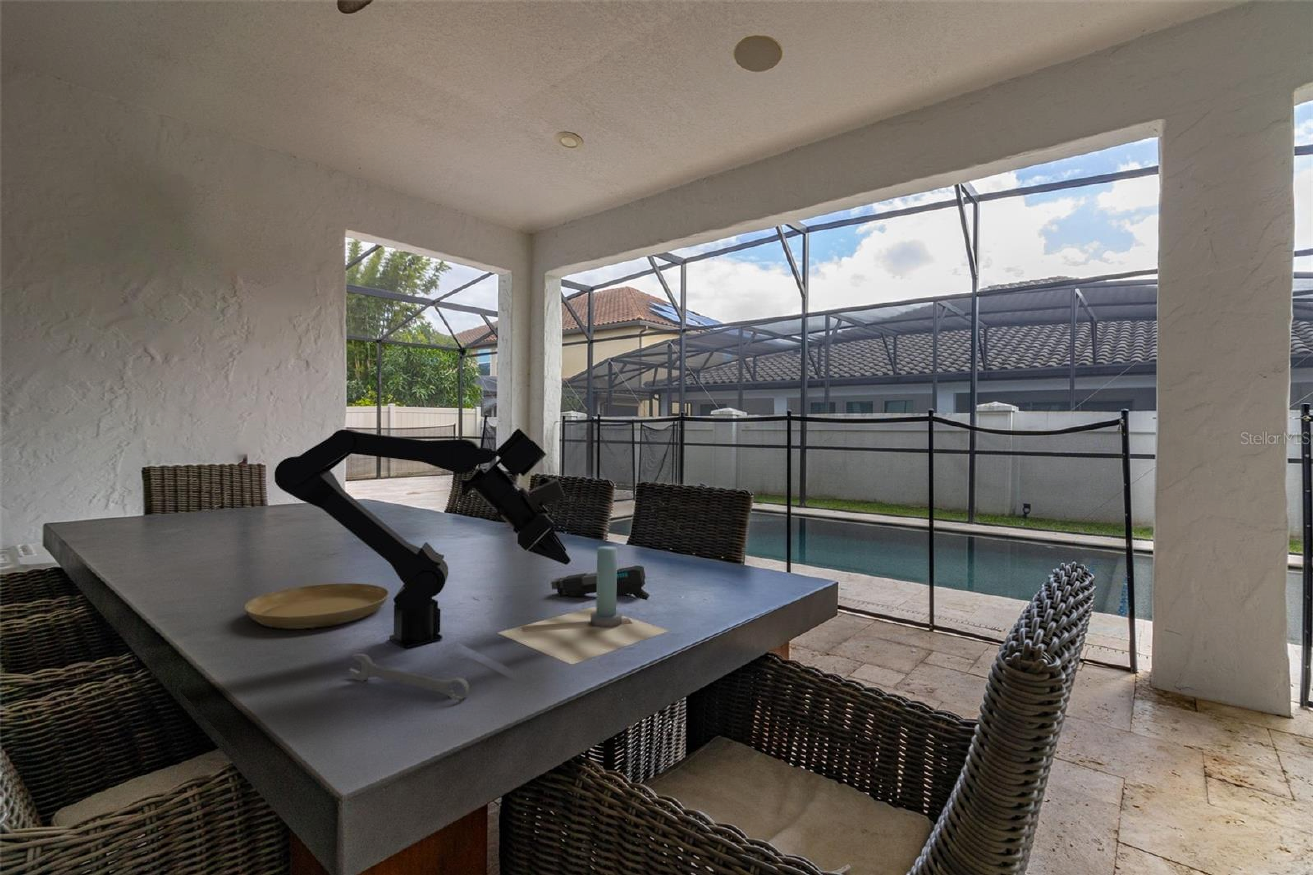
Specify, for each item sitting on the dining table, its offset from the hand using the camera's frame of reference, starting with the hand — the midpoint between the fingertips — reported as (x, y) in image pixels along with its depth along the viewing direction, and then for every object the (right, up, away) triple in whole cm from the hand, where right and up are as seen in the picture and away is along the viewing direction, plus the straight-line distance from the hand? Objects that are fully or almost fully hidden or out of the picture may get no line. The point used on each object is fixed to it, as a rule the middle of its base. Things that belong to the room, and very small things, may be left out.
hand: (566, 557), depth 108 cm
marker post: (+7, -12, +2) cm, 14 cm away
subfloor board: (+4, -13, -3) cm, 14 cm away
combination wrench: (-18, -14, -25) cm, 34 cm away
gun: (+4, -14, +22) cm, 26 cm away
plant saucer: (-48, -13, +8) cm, 51 cm away
